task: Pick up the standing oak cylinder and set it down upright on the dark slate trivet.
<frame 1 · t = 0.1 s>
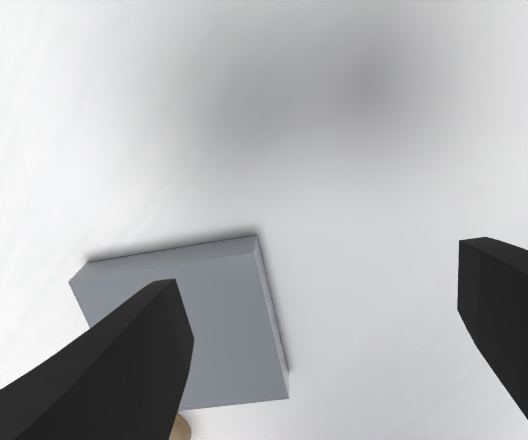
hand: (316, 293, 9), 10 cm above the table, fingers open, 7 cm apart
oak cylinder: (160, 430, 27), on the table
slate trivet: (193, 321, 23), on the table
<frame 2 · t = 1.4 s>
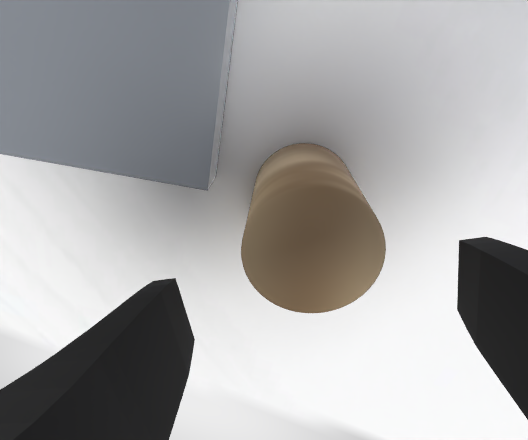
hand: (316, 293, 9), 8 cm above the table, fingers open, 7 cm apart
oak cylinder: (302, 191, 17), on the table
slate trivet: (106, 34, 15), on the table
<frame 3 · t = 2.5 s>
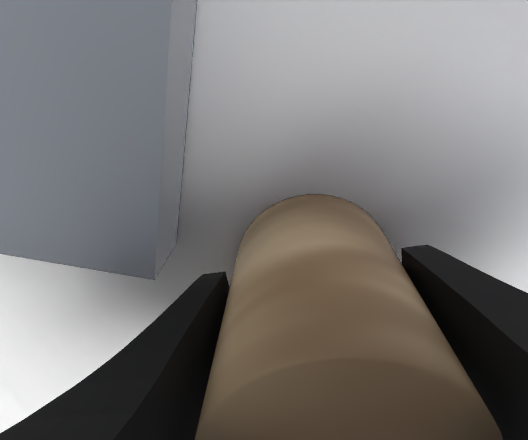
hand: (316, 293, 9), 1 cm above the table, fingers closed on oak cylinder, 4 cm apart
oak cylinder: (312, 265, 11), on the table, touching gripper
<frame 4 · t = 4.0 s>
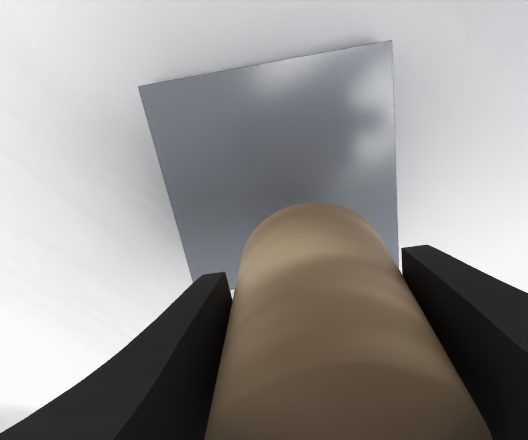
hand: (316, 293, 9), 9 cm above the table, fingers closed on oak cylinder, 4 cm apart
oak cylinder: (313, 270, 11), point 8 cm above the table, touching gripper
slate trivet: (279, 173, 18), on the table
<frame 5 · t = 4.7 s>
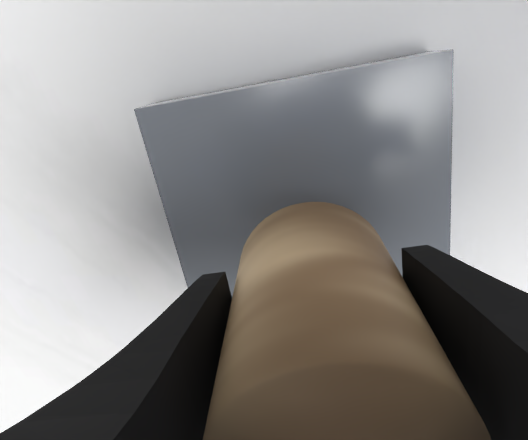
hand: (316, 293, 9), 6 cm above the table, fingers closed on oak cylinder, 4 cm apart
oak cylinder: (312, 270, 11), point 5 cm above the table, touching gripper
slate trivet: (304, 206, 15), on the table
when the fingers open (5 cm above the table, at t = 5.4 s): oak cylinder stays where it is, resting on slate trivet.
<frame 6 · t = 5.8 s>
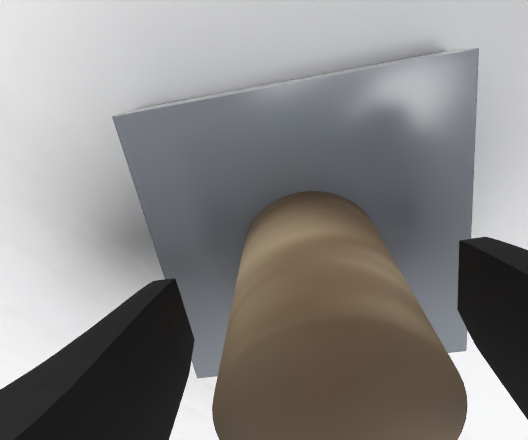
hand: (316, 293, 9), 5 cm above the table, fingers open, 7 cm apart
oak cylinder: (310, 255, 12), point 2 cm above the table, touching slate trivet
slate trivet: (305, 222, 14), on the table
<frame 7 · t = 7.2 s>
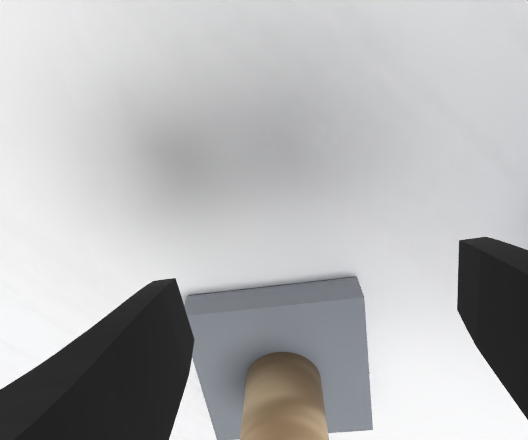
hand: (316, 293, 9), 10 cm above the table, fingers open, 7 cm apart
oak cylinder: (283, 380, 22), point 2 cm above the table, touching slate trivet
slate trivet: (282, 352, 24), on the table
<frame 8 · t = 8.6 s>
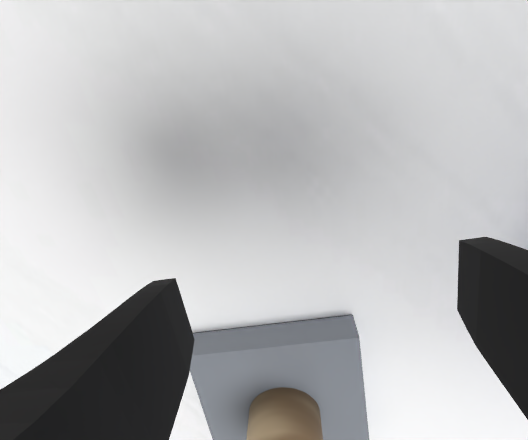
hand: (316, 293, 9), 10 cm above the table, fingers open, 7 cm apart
oak cylinder: (284, 413, 23), point 2 cm above the table, touching slate trivet
slate trivet: (283, 384, 25), on the table
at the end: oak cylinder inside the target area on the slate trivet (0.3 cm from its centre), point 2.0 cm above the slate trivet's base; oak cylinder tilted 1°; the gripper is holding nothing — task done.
